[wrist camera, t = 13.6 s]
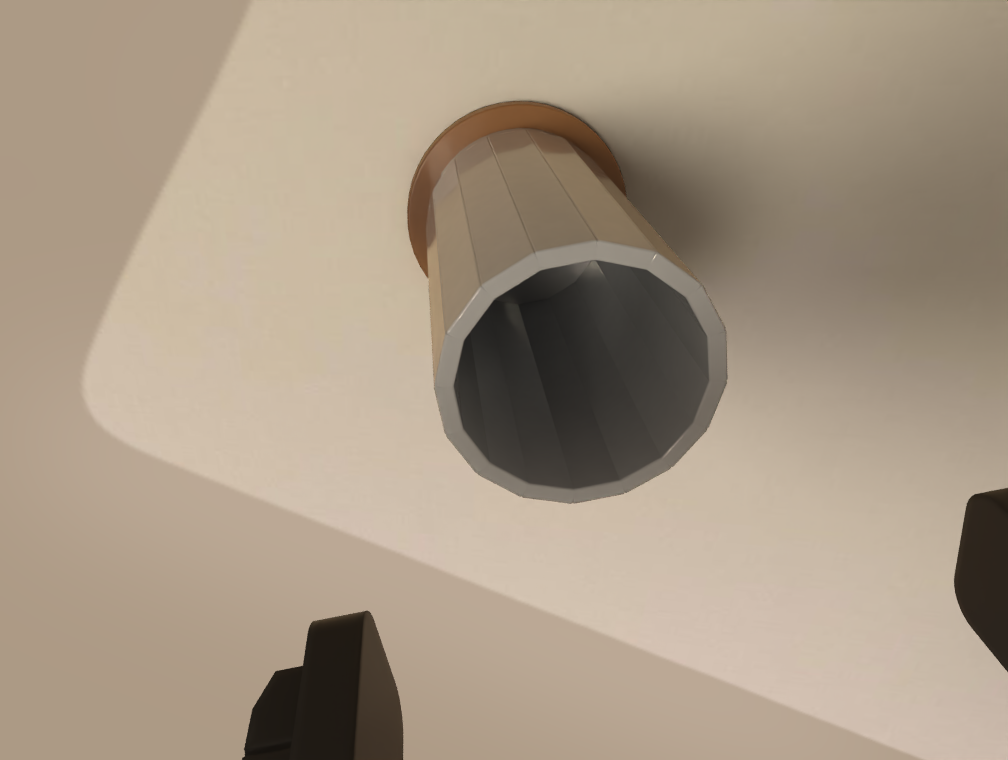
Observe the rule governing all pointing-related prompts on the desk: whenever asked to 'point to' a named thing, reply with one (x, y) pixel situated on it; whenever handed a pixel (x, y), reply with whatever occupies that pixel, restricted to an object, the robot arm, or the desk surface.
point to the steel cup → (562, 324)
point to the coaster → (485, 124)
